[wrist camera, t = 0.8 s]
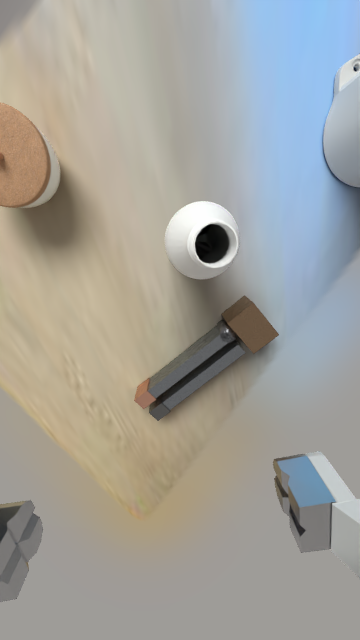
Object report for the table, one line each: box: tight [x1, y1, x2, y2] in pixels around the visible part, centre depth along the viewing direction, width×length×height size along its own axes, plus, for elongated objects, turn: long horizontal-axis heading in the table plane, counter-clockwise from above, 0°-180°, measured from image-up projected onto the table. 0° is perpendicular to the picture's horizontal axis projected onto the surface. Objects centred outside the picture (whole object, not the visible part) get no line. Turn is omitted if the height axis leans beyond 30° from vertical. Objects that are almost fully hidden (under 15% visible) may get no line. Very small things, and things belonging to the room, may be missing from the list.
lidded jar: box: [0, 103, 60, 208], centre depth 32 cm, size 11×11×9 cm
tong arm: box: [134, 320, 236, 409], centre depth 44 cm, size 21×3×4 cm, turn 131°
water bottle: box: [165, 201, 240, 279], centre depth 28 cm, size 7×7×25 cm
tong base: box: [149, 296, 279, 421], centre depth 44 cm, size 26×7×5 cm, turn 131°
